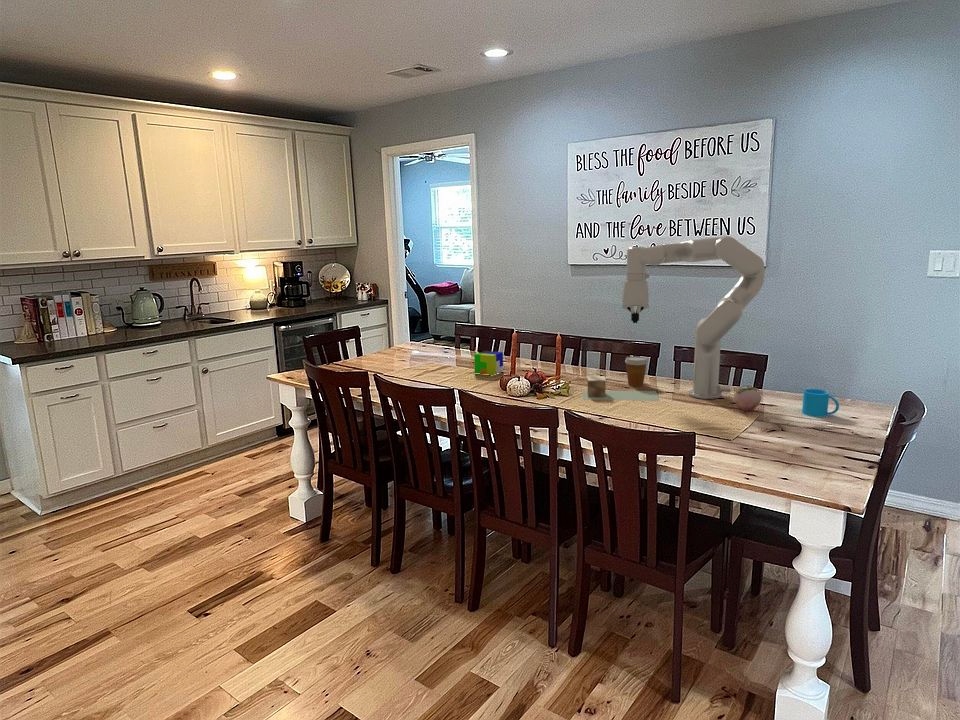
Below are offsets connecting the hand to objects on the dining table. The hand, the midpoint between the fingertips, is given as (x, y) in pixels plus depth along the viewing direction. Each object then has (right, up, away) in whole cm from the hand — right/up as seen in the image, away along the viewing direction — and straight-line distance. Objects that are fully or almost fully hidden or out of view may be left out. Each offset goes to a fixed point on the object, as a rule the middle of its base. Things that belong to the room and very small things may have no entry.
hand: (634, 322), depth 263 cm
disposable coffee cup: (+4, -27, +16) cm, 31 cm away
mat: (-6, -30, -1) cm, 31 cm away
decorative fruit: (+34, -35, -27) cm, 56 cm away
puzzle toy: (-59, -22, +46) cm, 78 cm away
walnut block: (-16, -23, -1) cm, 28 cm away
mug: (+59, -35, -32) cm, 76 cm away
